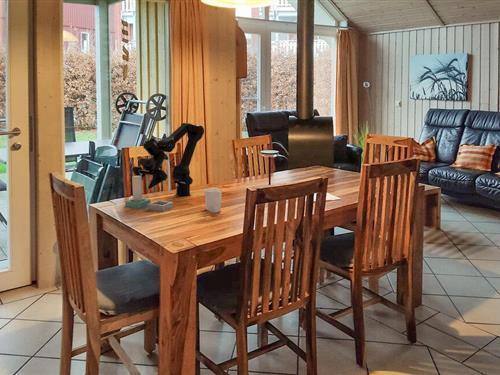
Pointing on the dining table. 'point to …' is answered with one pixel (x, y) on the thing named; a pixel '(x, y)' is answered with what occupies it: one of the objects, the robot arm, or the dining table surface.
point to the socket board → (149, 205)
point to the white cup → (213, 199)
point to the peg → (137, 188)
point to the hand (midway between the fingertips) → (141, 187)
